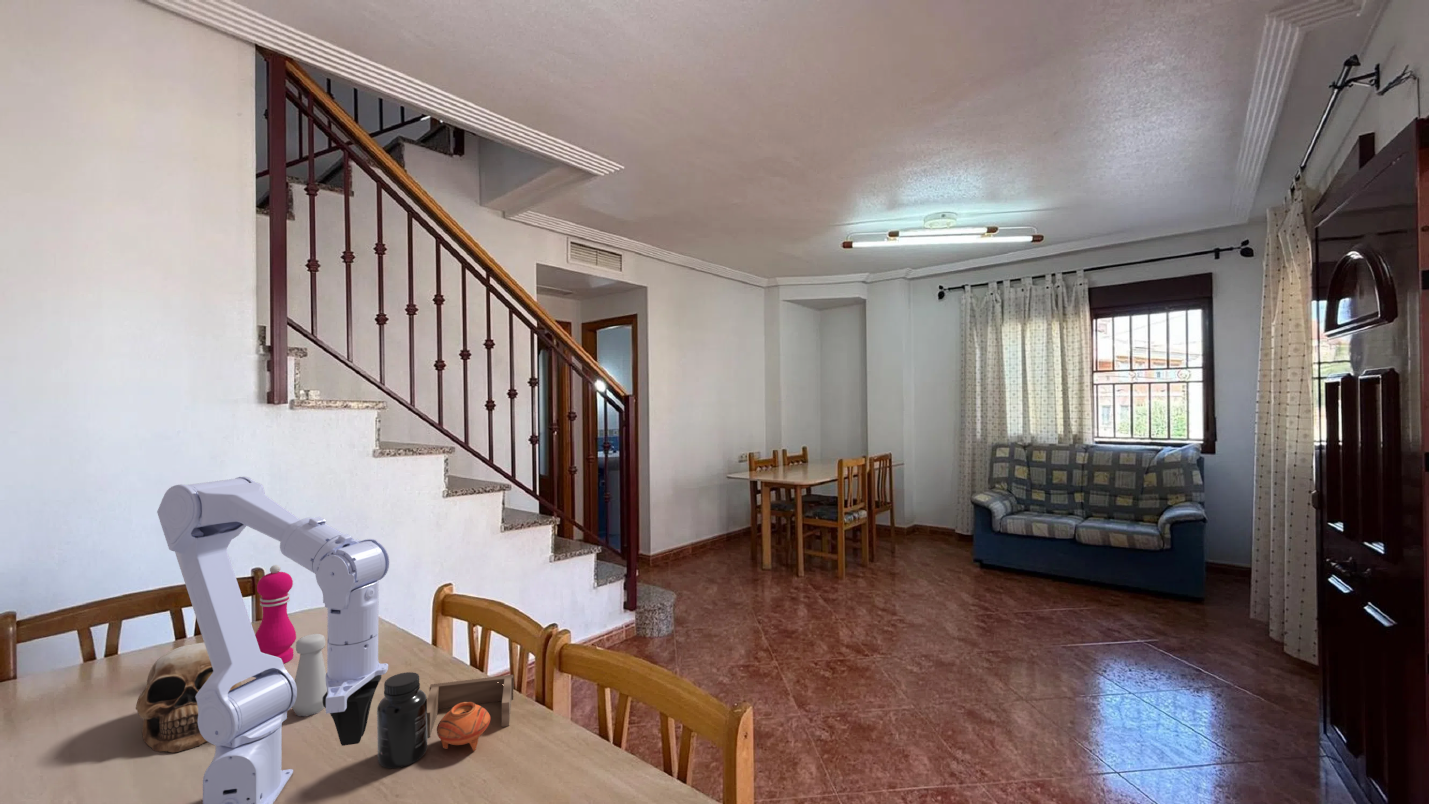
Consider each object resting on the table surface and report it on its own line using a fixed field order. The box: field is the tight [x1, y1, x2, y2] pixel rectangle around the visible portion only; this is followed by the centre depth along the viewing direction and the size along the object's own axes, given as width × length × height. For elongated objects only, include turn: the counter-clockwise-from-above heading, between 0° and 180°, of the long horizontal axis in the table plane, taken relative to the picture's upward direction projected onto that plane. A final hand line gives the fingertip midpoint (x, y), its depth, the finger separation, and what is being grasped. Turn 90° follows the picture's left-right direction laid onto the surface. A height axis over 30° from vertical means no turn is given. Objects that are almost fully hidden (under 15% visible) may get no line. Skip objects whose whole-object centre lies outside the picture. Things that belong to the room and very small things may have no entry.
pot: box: [436, 702, 492, 752], centre depth 95 cm, size 8×8×7 cm
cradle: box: [427, 674, 514, 738], centre depth 103 cm, size 10×14×4 cm
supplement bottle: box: [376, 671, 428, 769], centre depth 91 cm, size 7×7×12 cm
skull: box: [135, 642, 242, 754], centre depth 101 cm, size 16×17×13 cm
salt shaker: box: [291, 633, 327, 717], centre depth 104 cm, size 6×6×13 cm
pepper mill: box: [254, 564, 297, 665], centre depth 123 cm, size 7×7×20 cm
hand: (352, 739), depth 78 cm, fingers closed
